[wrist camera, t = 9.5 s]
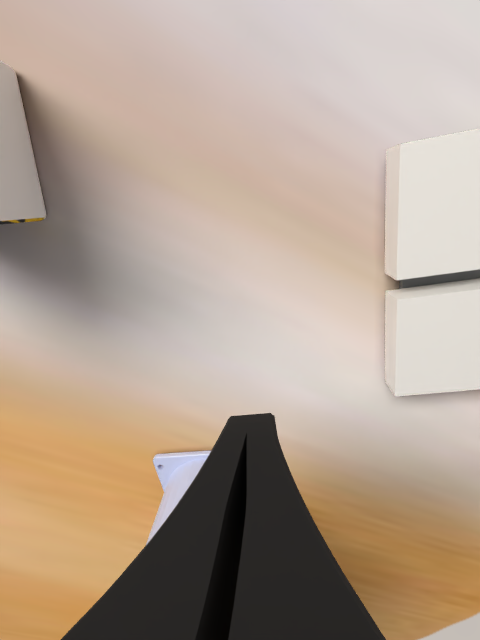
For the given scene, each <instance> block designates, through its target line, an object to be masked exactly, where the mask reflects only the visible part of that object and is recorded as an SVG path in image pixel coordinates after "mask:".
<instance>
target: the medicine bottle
mask: <svg viewBox="0 0 480 640" xmlns="http://www.w3.org/2000/svg"><path fill="white" fill-rule="evenodd" d="M45 218H46V210H45V205H44V200H43V196H42V191H41V186H40V182H39V177H38V172H37V168H36V163H35V159H34V154H33V149H32V145H31V140H30V135H29V131H28V126H27V122H26V117H25V112H24V108H23V103H22V98H21V94H20V89H19V85H18V80H17V75H16V73H15V70H14V69H13V68H12V67H11V66H10V65H8V64H6V63H4V62H3V61H1V60H0V224H10V223H21V222H32V221H41V220H44V219H45Z"/></svg>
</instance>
